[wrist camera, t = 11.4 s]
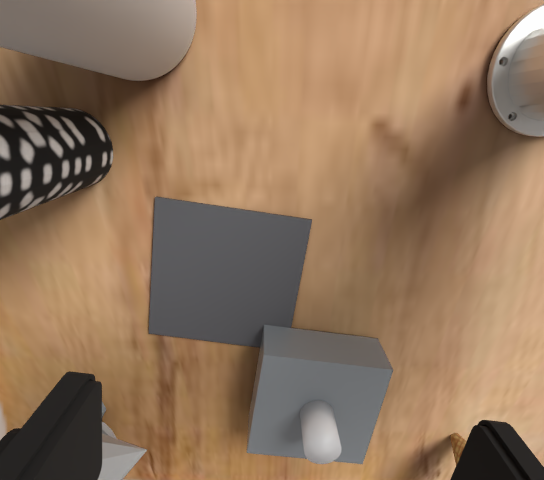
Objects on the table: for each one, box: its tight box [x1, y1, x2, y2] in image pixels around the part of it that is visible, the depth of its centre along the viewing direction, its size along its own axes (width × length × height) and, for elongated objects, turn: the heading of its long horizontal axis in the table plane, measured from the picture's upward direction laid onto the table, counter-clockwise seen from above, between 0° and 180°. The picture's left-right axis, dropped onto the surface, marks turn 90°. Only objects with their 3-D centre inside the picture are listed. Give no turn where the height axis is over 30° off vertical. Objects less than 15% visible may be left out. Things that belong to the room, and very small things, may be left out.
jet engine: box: [98, 402, 147, 480], centre depth 42 cm, size 15×20×18 cm
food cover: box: [247, 325, 393, 464], centre depth 43 cm, size 15×15×11 cm
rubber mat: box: [149, 197, 312, 347], centre depth 44 cm, size 18×18×1 cm
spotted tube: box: [0, 105, 113, 220], centre depth 29 cm, size 8×8×20 cm
